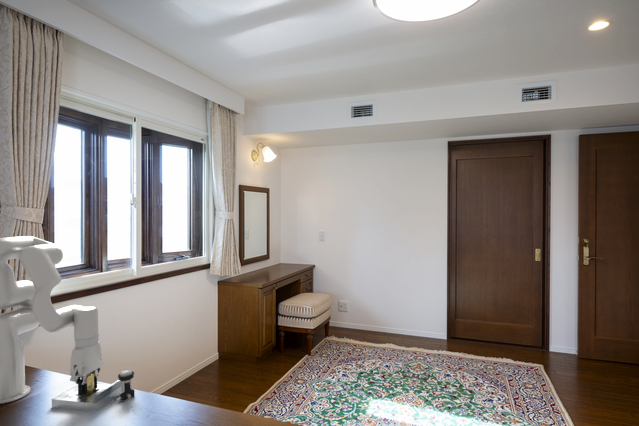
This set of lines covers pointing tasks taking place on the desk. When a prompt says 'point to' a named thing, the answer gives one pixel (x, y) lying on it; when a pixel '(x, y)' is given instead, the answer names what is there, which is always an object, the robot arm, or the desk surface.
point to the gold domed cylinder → (89, 384)
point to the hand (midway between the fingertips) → (87, 390)
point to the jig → (87, 398)
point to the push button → (126, 385)
